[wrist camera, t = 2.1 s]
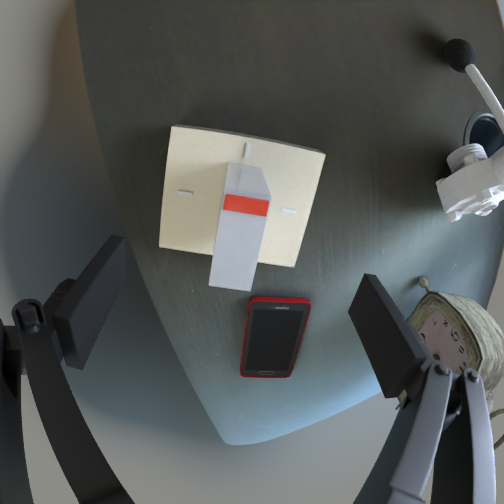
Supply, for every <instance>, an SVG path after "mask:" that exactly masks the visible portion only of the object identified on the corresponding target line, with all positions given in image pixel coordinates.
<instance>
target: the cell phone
mask: <svg viewBox="0 0 504 504" xmlns="http://www.w3.org/2000/svg"><path fill="white" fill-rule="evenodd" d="M310 308H311V304H310V302H309V300H308V299H304V298H287V297H267V296H254V297H251V298H250V300H249V303H248V309H247V320H246V328H245V332H244V340H243V348H242V356H241V364H240V375H241V376H243V377H255V378H286V377H289V376H290V375H291V373H292V371H293V368H294V365H295V361H296V358H297V355H298V351H299V348H300V345H301V341H302V338H303V335H302V334H304V331H305V327H306V324H307V320H308V317H309V313H310Z"/></svg>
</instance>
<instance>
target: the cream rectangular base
mask: <svg viewBox="0 0 504 504" xmlns="http://www.w3.org/2000/svg"><path fill="white" fill-rule="evenodd" d="M324 159H325V154H324V153H322V152H321V151H319V150H317V149H313V148H309V147H305V146H301V145H296V144H292V143H287V142H283V141H278V140H273V139H268V138H263V137H258V136H253V135H248V134H242V133H236V132H230V131H224V130H218V129H211V128H204V127H197V126H189V125H181V124H178V125H175V126H172V127H171V134H170V141H169V148H168V156H167V164H166V172H165V181H164V191H163V201H162V212H161V224H160V239H159V247H163V248H169V249H176V250H182V251H189V252H195V253H201V254H208V255H213V249H214V242H215V235H216V229H217V223H218V217H219V211H220V205H221V199H222V193H223V187H224V182H225V176H226V170H227V165H228V162H230V163H236V164H241V165H247V166H253V167H258V168H261V169H262V172H263V175H264V177H265V180H266V183H267V186H268V188H269V191H270V194H271V197H272V201H271V205H270V210H269V214H268V218H267V223H266V227H265V231H264V235H263V240H262V244H261V248H260V253H259V257H258V261H257V262H261V263H268V264H274V265H281V266H288V267H294V266H295V263H296V259H297V256H298V252H299V249H300V246H301V242H302V239H303V235H304V232H305V228H306V225H307V221H308V218H309V214H310V211H311V207H312V204H313V200H314V196H315V193H316V189H317V185H318V182H319V178H320V174H321V170H322V166H323V163H324Z"/></svg>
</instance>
